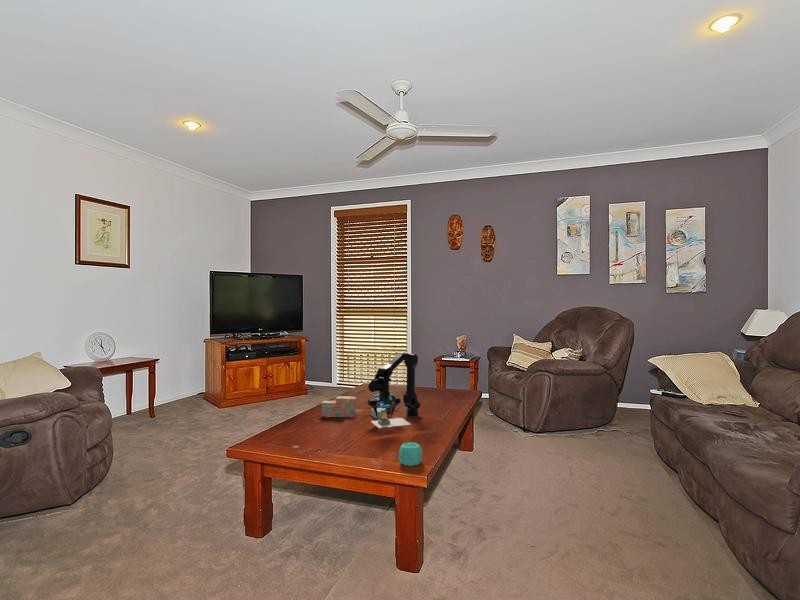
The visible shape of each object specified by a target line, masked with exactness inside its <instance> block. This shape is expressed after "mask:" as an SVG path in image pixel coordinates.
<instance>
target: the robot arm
mask: <svg viewBox="0 0 800 600" xmlns="http://www.w3.org/2000/svg"><path fill="white" fill-rule="evenodd" d="M418 360H419V357H418V355H417V354H415V353H407V352H403V351H399V352H398V353H397V355H395V356H394V357H393V358H392V360H389V362H388V363H387V364H384V365H382V366H380V367H378V369H377V372H376V373H375V376H374V379H371V380H370V382H369V383H368V386H367V387H368V390H369V392H371V393H376V392H378V395H379V397H378V399H377V400H376V399H375V398H369V399H368V400H367V405H368V406H369V407H371V409H373V410H374V412H375V415H376V417H377V408H378V405H379V404H383V405H385V406H387V405H390V415H391V416H393V415H394V411H395V409H396V407H397V406H399V404H401V398H400V397H398V396H396V395H391V392H390V382H391V381H393V380H392V378H390V377H391V376H392V374H394V370H395V369H396V368H397V367H398V366H399V365H400V364H402V362H403V361H404V366H405V367H406V392H405V393H403V395H402V397H403V399H402V401H403V405H404V407H406V410H405V411H406V412H405V415H406V416H409V417H416V416H419V409H420V408H421V402H420V401H419V400H418V395H417V393H416V391H415V387H416V385H415V384H416V383H415V381H416V377H415V376H416V368H417V365H418Z"/></svg>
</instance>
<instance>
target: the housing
mask: <svg viewBox="0 0 800 600" xmlns="http://www.w3.org/2000/svg"><path fill="white" fill-rule="evenodd" d="M381 409H384V408H383V407H377V417H376V415H375V412H374V410H373V408H371V409H370V411H371V412H370V415H371V416H372V417H373V419H375V420H378V419H381ZM387 412H388V411H387V410H386V417H388V414H387Z"/></svg>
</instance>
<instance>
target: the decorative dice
mask: <svg viewBox="0 0 800 600" xmlns="http://www.w3.org/2000/svg"><path fill="white" fill-rule="evenodd" d="M422 450H423V449H422V447H421V445H420V444H419V443H416V442H403V444H402V445H400V447H399V451H398V460H399V462H400V463H401V465H403V464H404V466H406V465H408V466H407V467H415V465H416V466H418V465H420V464H421V461H422V458H423V457H422V456H423V451H422Z"/></svg>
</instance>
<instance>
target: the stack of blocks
mask: <svg viewBox="0 0 800 600" xmlns="http://www.w3.org/2000/svg"><path fill="white" fill-rule="evenodd" d="M357 398H358V397H357V396H349V395H347V396H343V395H341V396H339V395H337V397H335V400H323V401H322V402H321V418H329V417H350V418H356V417H357V416H356V415H358V414H357V406H358V405H357V404H358V403H357V402H358V401H357V400H358V399H357Z"/></svg>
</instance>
